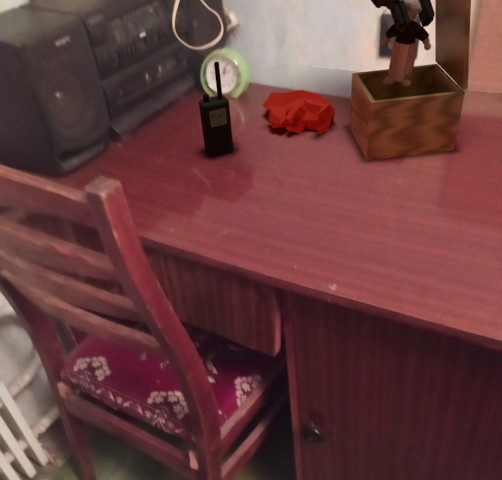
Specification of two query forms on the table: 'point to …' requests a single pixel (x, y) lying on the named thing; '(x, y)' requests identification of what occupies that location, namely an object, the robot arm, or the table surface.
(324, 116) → the crumpled red cloth
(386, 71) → the chest
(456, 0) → the lid
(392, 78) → the grandmother figurine
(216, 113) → the walkie-talkie
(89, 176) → the table surface
